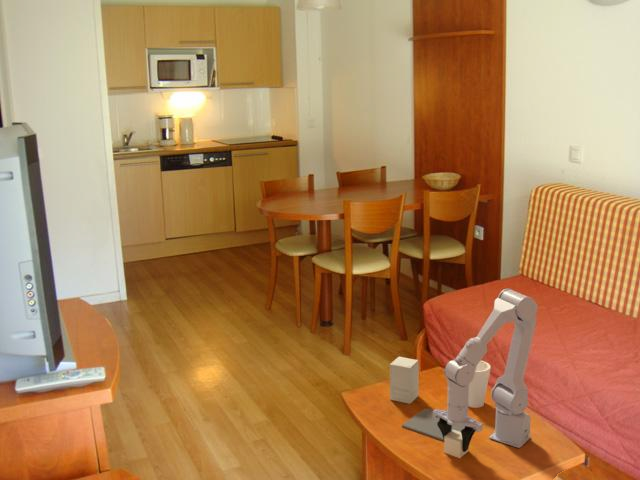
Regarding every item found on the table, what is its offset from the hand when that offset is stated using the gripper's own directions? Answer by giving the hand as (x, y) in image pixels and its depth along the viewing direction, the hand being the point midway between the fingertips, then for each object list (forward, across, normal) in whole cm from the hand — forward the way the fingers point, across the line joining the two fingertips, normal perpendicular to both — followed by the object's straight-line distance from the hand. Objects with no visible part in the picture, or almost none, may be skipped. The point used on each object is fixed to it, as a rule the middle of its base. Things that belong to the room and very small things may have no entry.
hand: (456, 447), depth 207 cm
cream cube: (+1, 0, 0) cm, 1 cm away
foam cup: (+2, -10, +30) cm, 32 cm away
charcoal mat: (+1, -11, +10) cm, 15 cm away
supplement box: (+2, -30, +20) cm, 36 cm away
